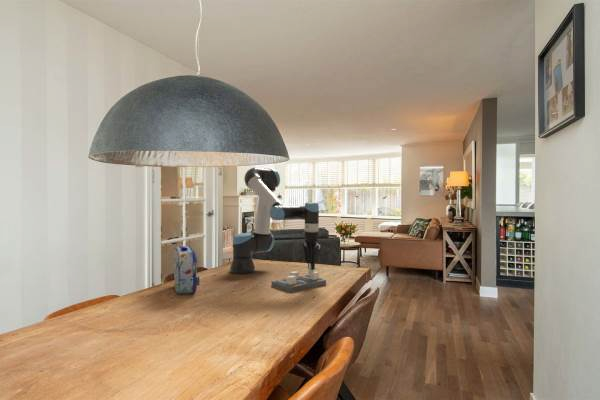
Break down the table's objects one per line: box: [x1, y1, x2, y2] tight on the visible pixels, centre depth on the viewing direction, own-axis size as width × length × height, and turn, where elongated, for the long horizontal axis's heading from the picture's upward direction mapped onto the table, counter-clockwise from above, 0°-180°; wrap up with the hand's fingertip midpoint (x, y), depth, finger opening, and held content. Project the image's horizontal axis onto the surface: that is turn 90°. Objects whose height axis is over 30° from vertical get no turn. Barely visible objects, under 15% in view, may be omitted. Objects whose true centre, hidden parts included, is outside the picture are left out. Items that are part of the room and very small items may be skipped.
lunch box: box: [173, 245, 201, 295], centre depth 172 cm, size 28×10×22 cm, turn 25°
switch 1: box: [285, 275, 296, 285], centre depth 175 cm, size 3×4×4 cm
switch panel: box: [271, 274, 327, 293], centre depth 182 cm, size 16×24×3 cm, turn 131°
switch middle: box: [289, 271, 300, 279], centre depth 185 cm, size 3×4×4 cm
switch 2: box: [310, 271, 320, 280], centre depth 185 cm, size 3×4×4 cm
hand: (311, 275), depth 187 cm, fingers closed
